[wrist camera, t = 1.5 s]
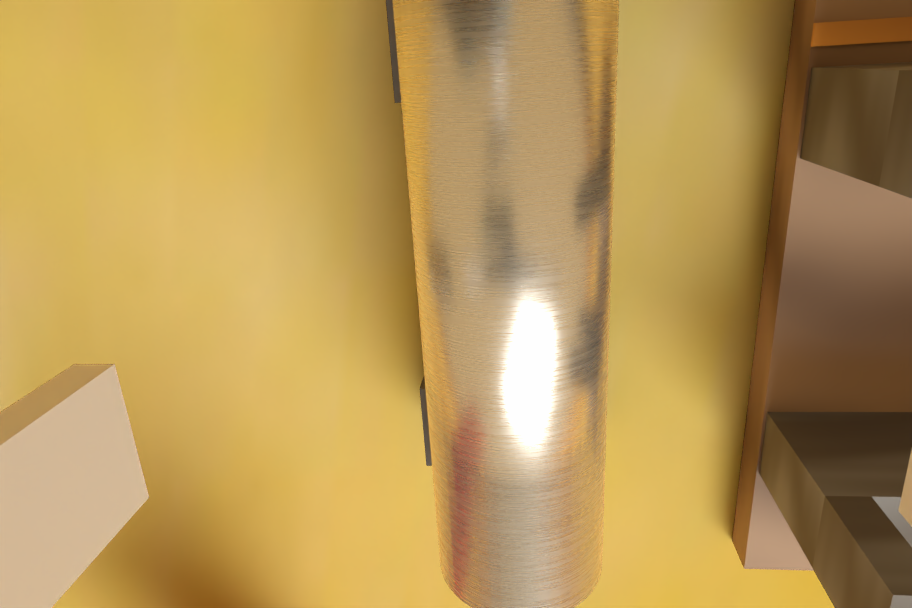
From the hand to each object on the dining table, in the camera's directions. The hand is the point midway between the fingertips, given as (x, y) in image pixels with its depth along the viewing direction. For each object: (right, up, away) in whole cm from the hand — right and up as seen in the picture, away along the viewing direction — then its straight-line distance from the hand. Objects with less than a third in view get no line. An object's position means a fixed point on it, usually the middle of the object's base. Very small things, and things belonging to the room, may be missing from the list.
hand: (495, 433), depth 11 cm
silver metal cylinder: (+1, +4, +8) cm, 9 cm away
